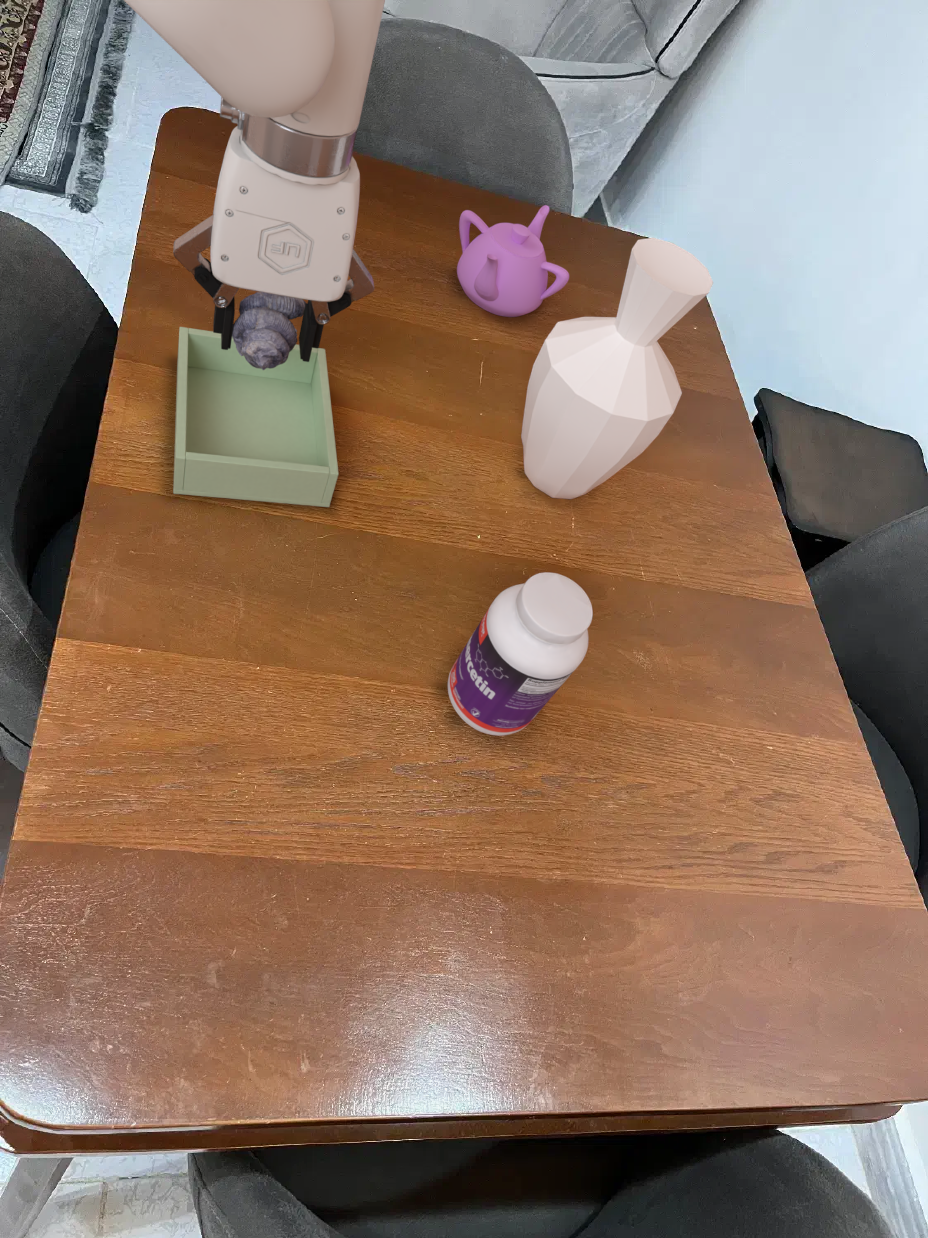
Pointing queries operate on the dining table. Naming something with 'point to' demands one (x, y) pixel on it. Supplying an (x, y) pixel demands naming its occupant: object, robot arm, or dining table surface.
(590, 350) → the vase
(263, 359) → the seashell
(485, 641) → the pill bottle
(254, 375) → the box
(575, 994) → the dining table surface
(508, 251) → the teapot
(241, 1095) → the dining table surface
